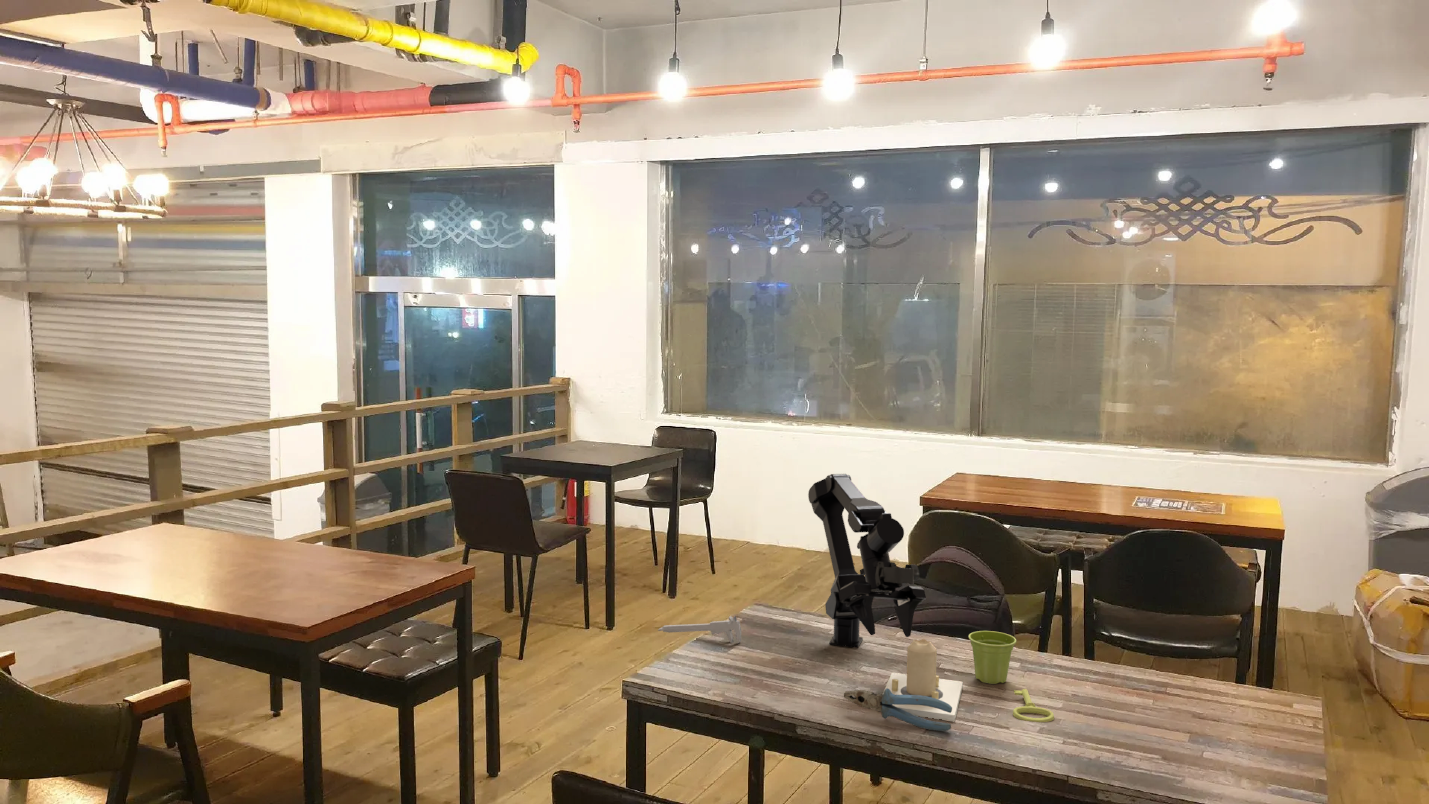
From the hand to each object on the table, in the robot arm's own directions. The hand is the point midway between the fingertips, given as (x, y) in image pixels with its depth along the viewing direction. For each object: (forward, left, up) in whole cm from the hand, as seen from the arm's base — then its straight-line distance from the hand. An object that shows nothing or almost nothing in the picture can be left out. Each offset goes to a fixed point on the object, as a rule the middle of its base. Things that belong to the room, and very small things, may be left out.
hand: (890, 635), depth 204 cm
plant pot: (-9, +19, -10) cm, 23 cm away
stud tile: (+7, +7, -9) cm, 14 cm away
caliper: (-13, -45, -10) cm, 48 cm away
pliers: (+20, +4, -10) cm, 23 cm away
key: (+5, +27, -10) cm, 29 cm away
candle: (+7, +7, -8) cm, 13 cm away
